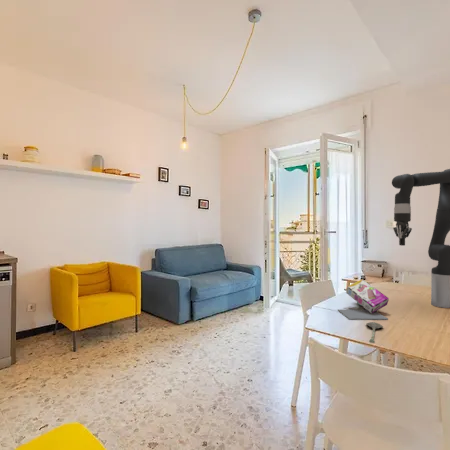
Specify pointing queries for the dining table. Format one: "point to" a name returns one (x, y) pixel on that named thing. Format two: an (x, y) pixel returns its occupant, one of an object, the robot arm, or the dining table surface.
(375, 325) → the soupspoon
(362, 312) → the mat
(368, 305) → the candy bar box
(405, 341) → the dining table surface
